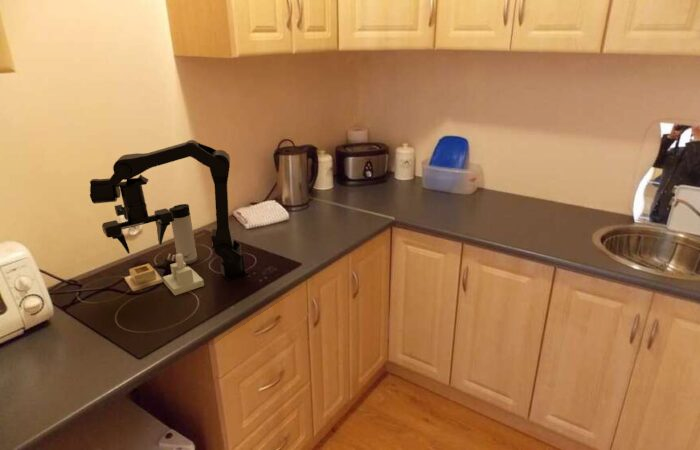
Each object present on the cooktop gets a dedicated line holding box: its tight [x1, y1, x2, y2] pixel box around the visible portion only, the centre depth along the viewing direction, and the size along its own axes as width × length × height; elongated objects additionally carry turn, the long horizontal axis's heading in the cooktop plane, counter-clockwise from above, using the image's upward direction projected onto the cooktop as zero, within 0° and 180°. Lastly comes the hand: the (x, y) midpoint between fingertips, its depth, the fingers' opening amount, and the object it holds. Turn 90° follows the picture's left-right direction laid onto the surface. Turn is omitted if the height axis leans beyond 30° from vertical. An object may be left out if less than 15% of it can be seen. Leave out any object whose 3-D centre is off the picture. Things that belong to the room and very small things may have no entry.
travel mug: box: [168, 203, 198, 265], centre depth 154 cm, size 6×7×20 cm
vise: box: [162, 253, 205, 296], centre depth 141 cm, size 9×10×10 cm
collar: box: [128, 262, 156, 285], centre depth 144 cm, size 6×6×3 cm
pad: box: [123, 270, 164, 292], centre depth 145 cm, size 9×9×1 cm
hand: (144, 248), depth 139 cm, fingers open, 9 cm apart
